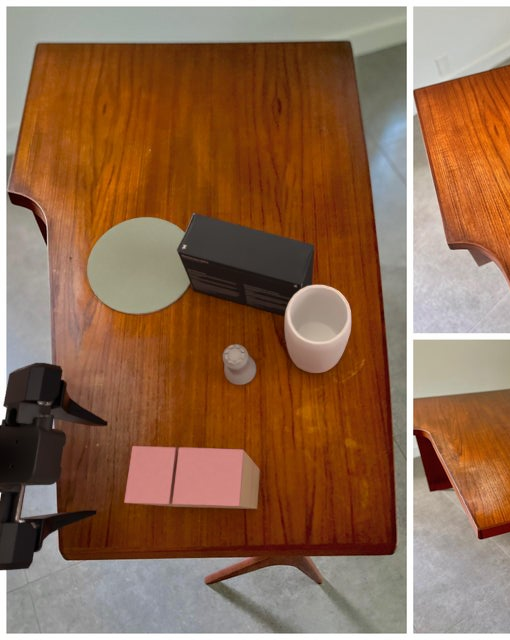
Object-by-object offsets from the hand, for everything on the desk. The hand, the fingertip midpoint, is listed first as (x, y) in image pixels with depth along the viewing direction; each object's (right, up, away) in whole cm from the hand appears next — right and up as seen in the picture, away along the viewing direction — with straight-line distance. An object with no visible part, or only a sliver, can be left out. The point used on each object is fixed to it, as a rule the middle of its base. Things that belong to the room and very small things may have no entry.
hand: (100, 467), depth 58 cm
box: (+14, +21, +22) cm, 33 cm away
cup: (+23, +12, +19) cm, 32 cm away
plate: (-3, +24, +22) cm, 33 cm away
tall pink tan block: (+13, -6, +12) cm, 19 cm away
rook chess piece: (+13, +9, +18) cm, 23 cm away
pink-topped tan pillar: (+8, -6, +12) cm, 15 cm away
